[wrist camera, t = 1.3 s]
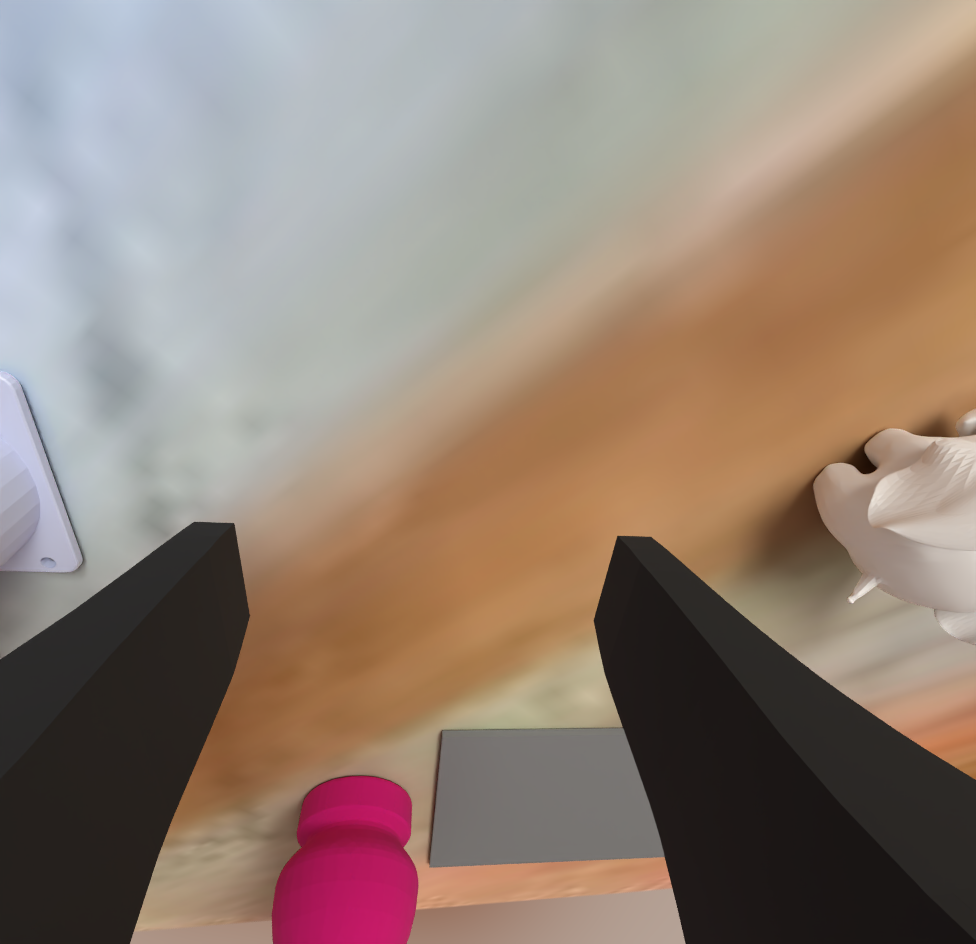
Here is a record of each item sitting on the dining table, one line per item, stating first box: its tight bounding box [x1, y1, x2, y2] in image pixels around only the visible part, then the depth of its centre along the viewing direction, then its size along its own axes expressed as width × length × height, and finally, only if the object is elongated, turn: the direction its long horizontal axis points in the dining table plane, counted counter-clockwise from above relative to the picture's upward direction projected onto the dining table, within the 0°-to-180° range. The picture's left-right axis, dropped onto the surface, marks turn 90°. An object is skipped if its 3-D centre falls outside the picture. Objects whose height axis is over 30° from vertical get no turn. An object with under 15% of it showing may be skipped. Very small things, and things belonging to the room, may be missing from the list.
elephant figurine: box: [813, 409, 976, 645], centre depth 19 cm, size 8×10×7 cm
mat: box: [430, 728, 665, 867], centre depth 33 cm, size 20×14×1 cm
